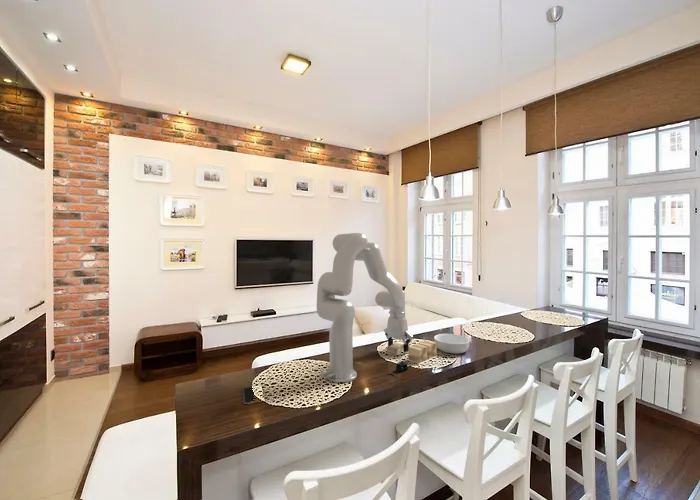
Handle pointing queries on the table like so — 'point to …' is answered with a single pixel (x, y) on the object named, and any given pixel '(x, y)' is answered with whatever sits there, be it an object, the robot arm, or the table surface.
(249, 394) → the cell phone
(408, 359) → the build board
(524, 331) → the table surface
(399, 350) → the lintel
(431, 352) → the pillar
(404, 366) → the small black block
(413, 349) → the pillar
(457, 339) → the cereal bowl
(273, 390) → the table surface
